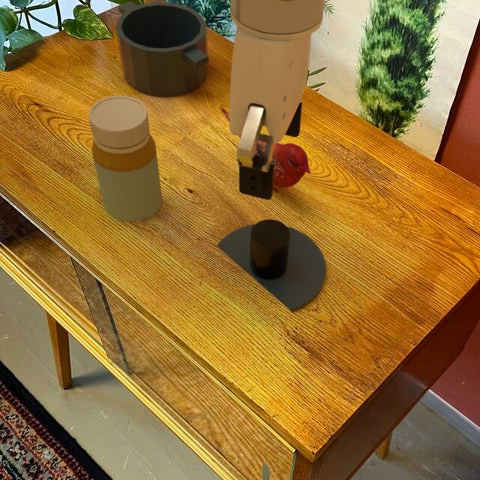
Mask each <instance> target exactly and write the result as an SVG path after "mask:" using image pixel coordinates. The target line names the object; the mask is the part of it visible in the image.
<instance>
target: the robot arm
mask: <svg viewBox="0 0 480 480" xmlns="http://www.w3.org/2000/svg"><path fill="white" fill-rule="evenodd" d="M229 2H230V18H231V20H232V22H233V24H234V25H235V26H236V30H235V35H234V39H233V40H234V41H233V49H232V58H231V70H230V85H229V88H230V89H229V90H230V91H229V114H230V117H229V121H228V125H229V131H230V133H231V135H232V136H238V137H239V136H240V135H241V134H242V135H241V138H240V137H239V142H238V145H237V149H236V155H237V159H236V160H237V161H236V162H237V165H238V189H239V190H238V191H239V193H241V194H242V195H245V196H250V197H254V198H259V199H261V200H262V199H263V200H266V201H270V200H271V199H272V197H273V195H274V190H273V186H274V185H273V179H274V165H272V164H271V160H272V155H273V151H274V146H275V144H276V143H280V142H281V141H283V139H284V138H285V136H288V137H291V138H297V137H299V135H300V132H301V123H302V112H303V111H302V110H303V102H301V101H302V98H303V96H304V93H305V90H306V87H307V83H308V82H307V81H308V76H309V68H310V57H311V43H312V34H313V33H315V32H317V31H318V30H319V28H320V27H321V26H322V24H323V18H324V9H325V0H230V1H229ZM263 127H265V128H266V130H267V132H268V134H264V133H261V132H262V129H263ZM258 140H260V141H264V142H267V144H266V148H265V153H264V157H262V156H260V155H256V153H257V151H256V146H257V142H258Z"/></svg>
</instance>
